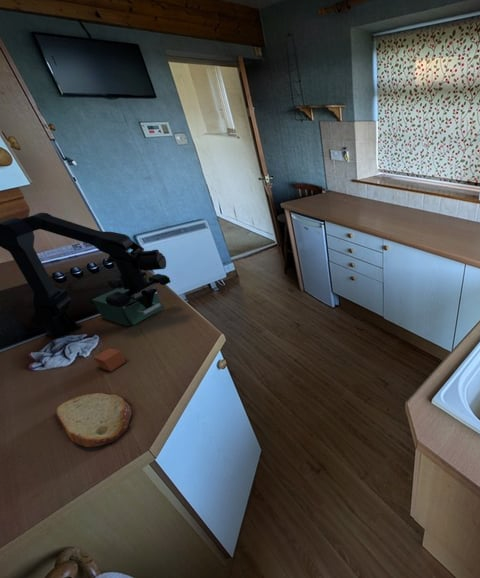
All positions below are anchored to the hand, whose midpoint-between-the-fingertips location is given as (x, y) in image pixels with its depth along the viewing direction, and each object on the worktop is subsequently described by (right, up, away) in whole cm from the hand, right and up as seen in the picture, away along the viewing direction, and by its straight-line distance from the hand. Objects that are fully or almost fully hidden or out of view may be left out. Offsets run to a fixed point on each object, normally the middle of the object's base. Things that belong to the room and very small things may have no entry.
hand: (149, 308), depth 108 cm
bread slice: (+13, -26, -34) cm, 45 cm away
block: (+3, -16, -18) cm, 24 cm away
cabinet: (-11, -2, +5) cm, 12 cm away
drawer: (-6, -2, +4) cm, 7 cm away
